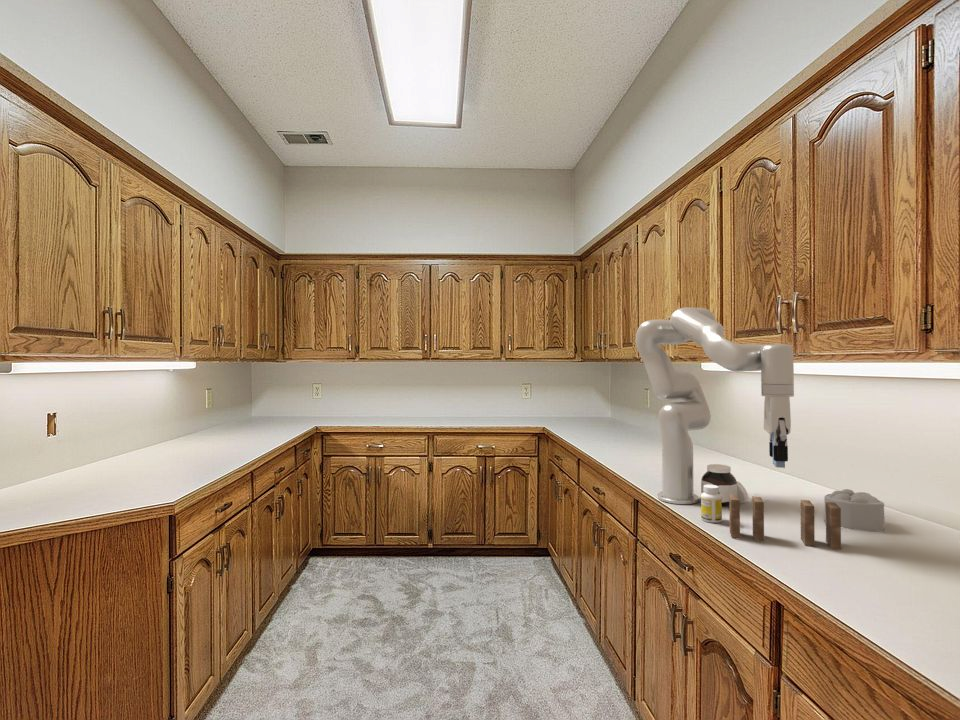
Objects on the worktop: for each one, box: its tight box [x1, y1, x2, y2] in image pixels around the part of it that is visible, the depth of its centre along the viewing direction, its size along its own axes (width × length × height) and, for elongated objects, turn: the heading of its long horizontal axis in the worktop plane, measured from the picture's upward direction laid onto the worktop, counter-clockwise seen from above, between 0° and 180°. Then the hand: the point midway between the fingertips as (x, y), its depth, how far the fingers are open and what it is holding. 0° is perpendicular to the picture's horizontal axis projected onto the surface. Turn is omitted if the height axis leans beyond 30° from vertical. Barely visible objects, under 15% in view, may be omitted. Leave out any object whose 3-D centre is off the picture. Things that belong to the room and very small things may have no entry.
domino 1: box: [728, 495, 741, 539], centre depth 136 cm, size 2×5×10 cm, turn 159°
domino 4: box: [825, 502, 842, 550], centre depth 128 cm, size 2×5×10 cm, turn 159°
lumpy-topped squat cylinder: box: [823, 488, 885, 532], centre depth 143 cm, size 10×13×9 cm
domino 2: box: [751, 496, 765, 542], centre depth 134 cm, size 2×5×10 cm, turn 159°
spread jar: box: [700, 463, 749, 507], centre depth 165 cm, size 12×11×12 cm
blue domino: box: [772, 431, 786, 469], centre depth 138 cm, size 2×5×10 cm, turn 160°
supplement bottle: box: [700, 485, 723, 524], centre depth 148 cm, size 5×5×10 cm
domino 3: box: [800, 499, 816, 548], centre depth 130 cm, size 2×5×10 cm, turn 159°
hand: (778, 458), depth 138 cm, fingers closed on blue domino, 4 cm apart
